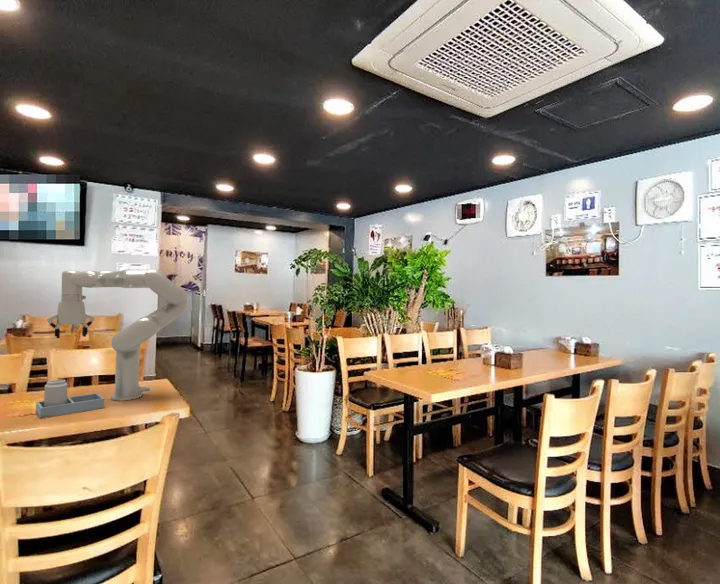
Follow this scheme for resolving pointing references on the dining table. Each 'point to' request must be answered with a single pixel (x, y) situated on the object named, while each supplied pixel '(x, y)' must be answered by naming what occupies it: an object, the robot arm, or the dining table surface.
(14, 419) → the dining table surface
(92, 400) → the tray
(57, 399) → the can
